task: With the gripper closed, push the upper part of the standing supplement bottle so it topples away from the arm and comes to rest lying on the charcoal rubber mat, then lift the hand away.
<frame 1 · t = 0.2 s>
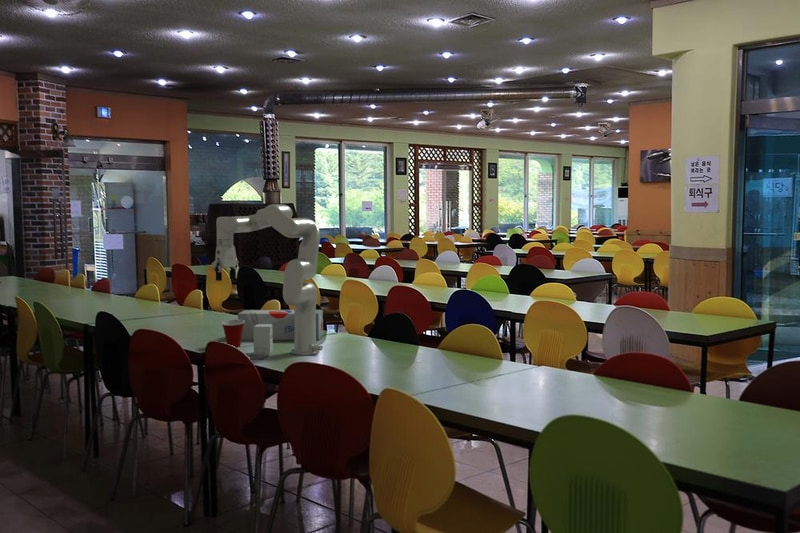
hand: (225, 279, 356), 31 cm above the table, tool pointing down, fingers open, 9 cm apart
plastic cup: (233, 347, 353), on the table
soda pack: (281, 338, 376), on the table
mat: (256, 357, 328), on the table
supplement box: (263, 353, 338), on the table
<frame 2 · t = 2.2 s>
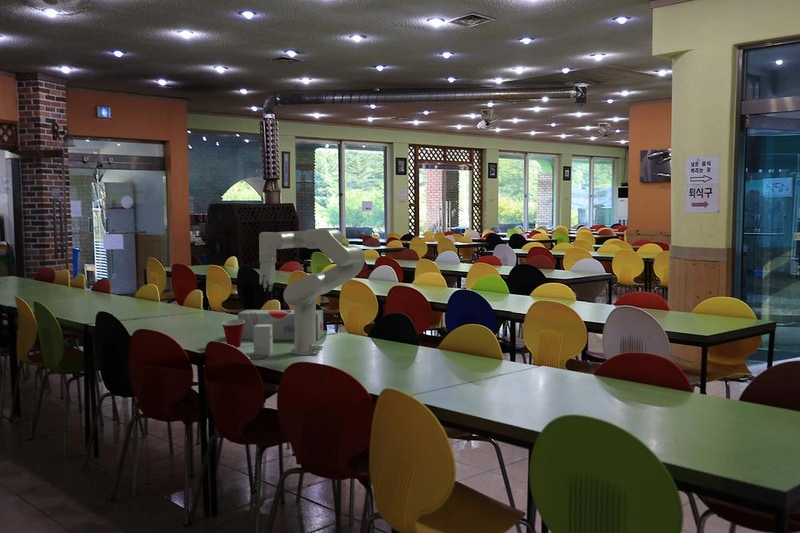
hand: (268, 299, 345), 23 cm above the table, tool pointing down, fingers closed
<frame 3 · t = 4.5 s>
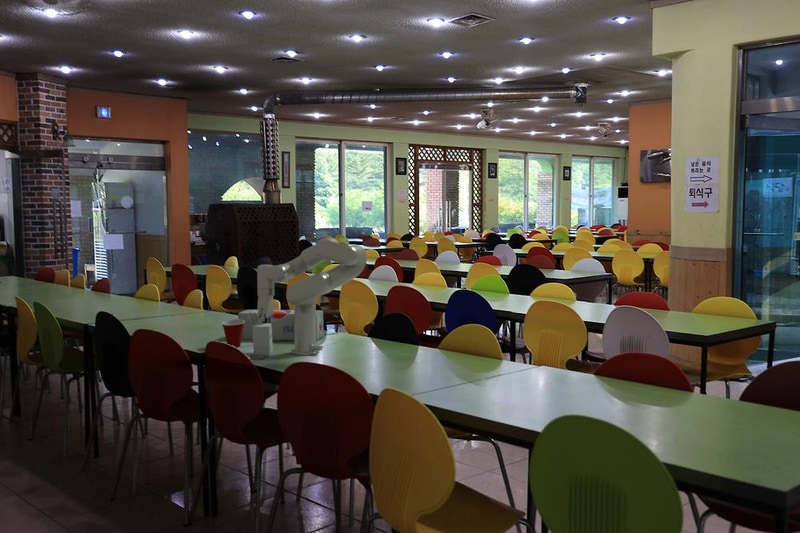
hand: (266, 332, 343), 8 cm above the table, tool pointing down, fingers closed
supplement box: (263, 353, 338), on the table, touching gripper
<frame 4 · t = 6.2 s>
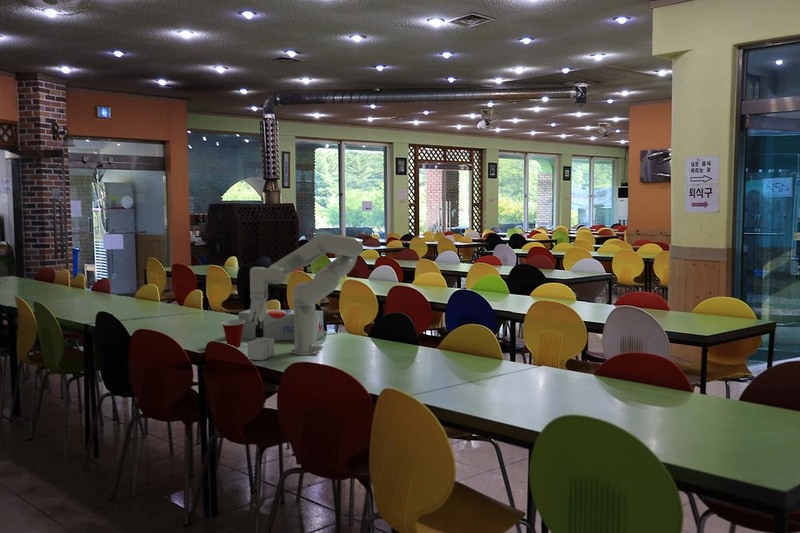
hand: (259, 336, 332), 8 cm above the table, tool pointing down, fingers closed
supplement box: (267, 345, 333), point 4 cm above the table, touching mat
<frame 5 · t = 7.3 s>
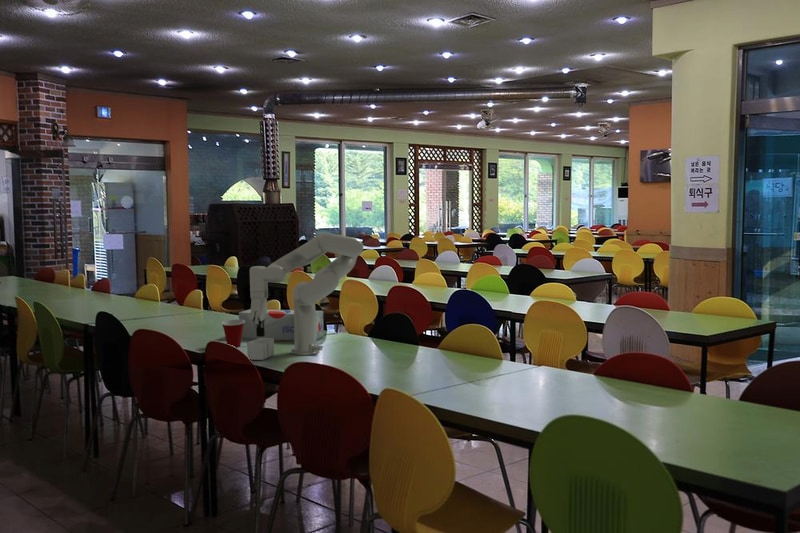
hand: (260, 336, 332), 9 cm above the table, tool pointing down, fingers closed
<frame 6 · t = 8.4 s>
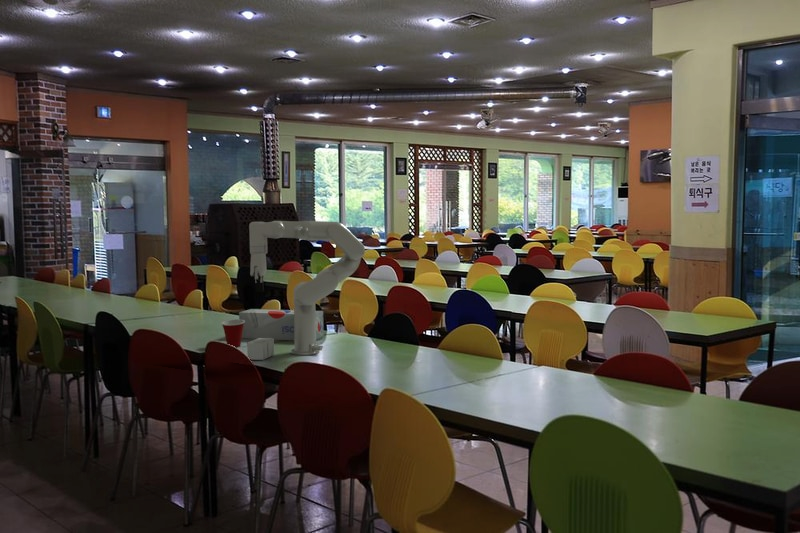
hand: (259, 291, 332), 28 cm above the table, tool pointing down, fingers closed
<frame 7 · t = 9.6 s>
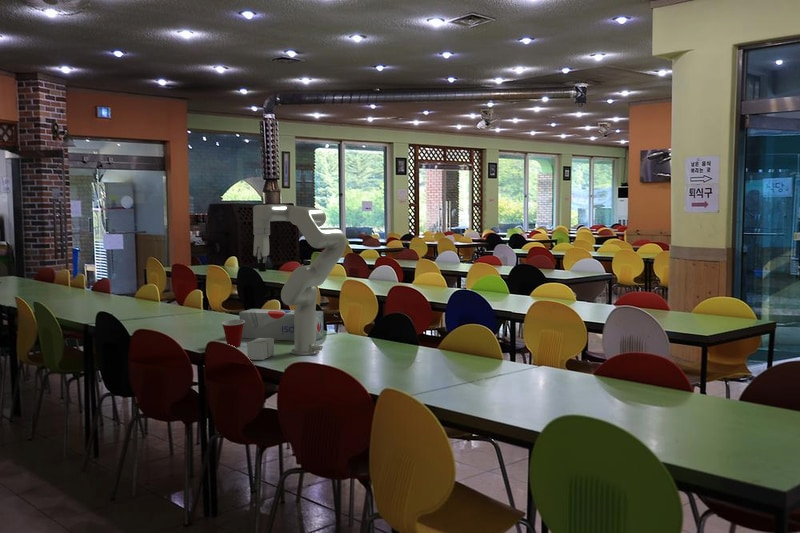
hand: (262, 271, 351), 35 cm above the table, tool pointing down, fingers closed
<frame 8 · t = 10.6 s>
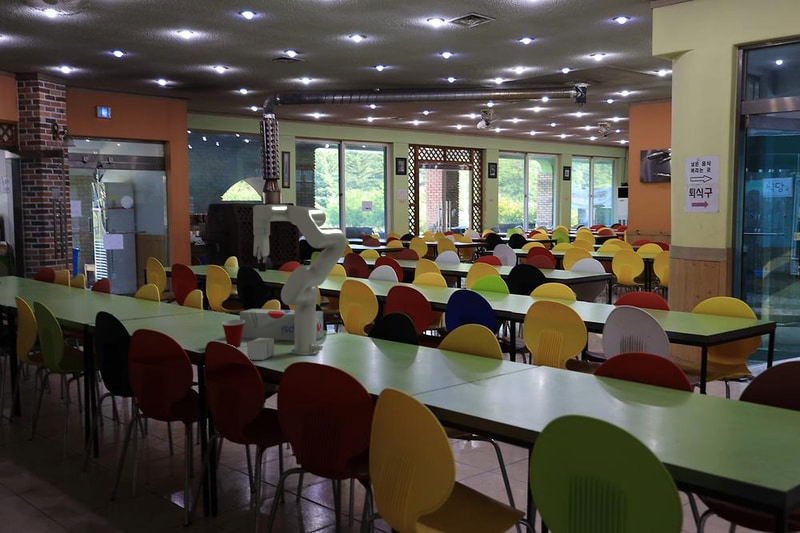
hand: (262, 271, 351), 35 cm above the table, tool pointing down, fingers closed
at the end: supplement box tilted 90°; supplement box inside the target area (5.0 cm from its centre), point 4.1 cm above the table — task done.
